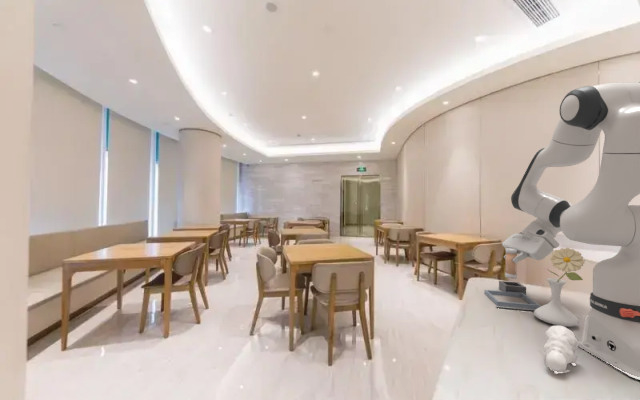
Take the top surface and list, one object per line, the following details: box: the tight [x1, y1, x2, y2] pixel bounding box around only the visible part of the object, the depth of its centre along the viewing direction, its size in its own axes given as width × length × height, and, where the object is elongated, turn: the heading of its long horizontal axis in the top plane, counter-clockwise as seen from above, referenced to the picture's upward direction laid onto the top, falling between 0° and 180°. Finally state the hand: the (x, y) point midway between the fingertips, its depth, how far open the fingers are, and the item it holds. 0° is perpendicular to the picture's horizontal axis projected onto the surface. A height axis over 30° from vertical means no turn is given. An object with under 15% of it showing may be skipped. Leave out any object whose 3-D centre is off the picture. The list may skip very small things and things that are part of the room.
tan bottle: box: [504, 248, 518, 280], centre depth 108 cm, size 4×4×11 cm
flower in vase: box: [533, 247, 586, 328], centre depth 91 cm, size 13×11×25 cm
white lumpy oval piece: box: [542, 325, 579, 373], centre depth 67 cm, size 6×8×12 cm
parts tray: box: [484, 289, 542, 313], centre depth 108 cm, size 14×14×2 cm
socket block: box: [498, 280, 527, 295], centre depth 118 cm, size 7×7×4 cm
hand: (509, 260), depth 108 cm, fingers closed on tan bottle, 3 cm apart
